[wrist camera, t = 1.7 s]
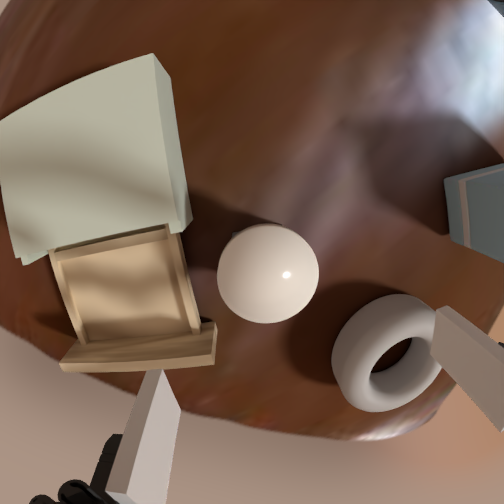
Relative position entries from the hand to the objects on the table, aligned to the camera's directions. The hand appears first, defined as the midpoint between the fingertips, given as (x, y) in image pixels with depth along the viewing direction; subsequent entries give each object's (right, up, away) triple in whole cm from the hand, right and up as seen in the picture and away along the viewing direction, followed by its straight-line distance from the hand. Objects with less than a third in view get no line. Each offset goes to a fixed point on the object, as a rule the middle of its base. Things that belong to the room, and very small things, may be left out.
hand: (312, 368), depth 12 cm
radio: (+28, +12, +18) cm, 36 cm away
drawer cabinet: (-19, +14, +15) cm, 27 cm away
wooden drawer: (-16, +2, +18) cm, 24 cm away
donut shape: (+14, -7, +23) cm, 28 cm away
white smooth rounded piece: (-2, +4, +12) cm, 13 cm away
